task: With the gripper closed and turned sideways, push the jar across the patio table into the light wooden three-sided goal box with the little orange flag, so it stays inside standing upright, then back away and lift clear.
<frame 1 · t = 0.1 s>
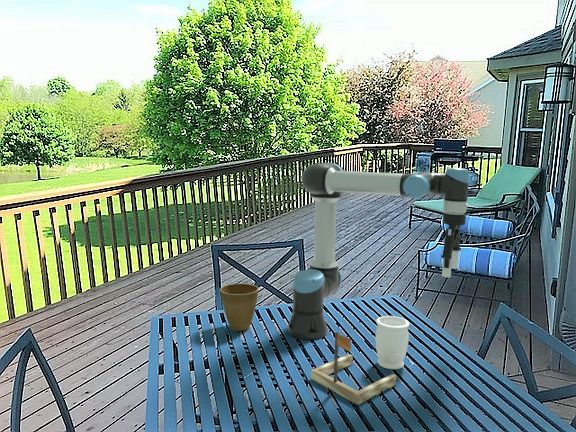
hand: (449, 272, 166), 28 cm above the table, tool pointing down, fingers open, 13 cm apart
jar: (390, 364, 157), on the table
plant pot: (239, 327, 186), on the table
goal box: (354, 381, 145), on the table
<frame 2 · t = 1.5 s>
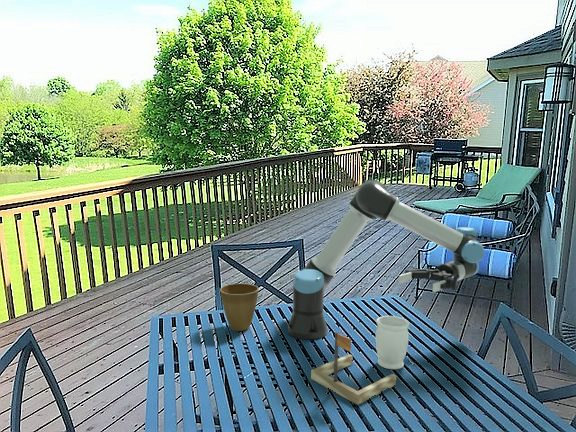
hand: (416, 283, 161), 25 cm above the table, tool horizontal, fingers open, 13 cm apart
nothing on the table moved.
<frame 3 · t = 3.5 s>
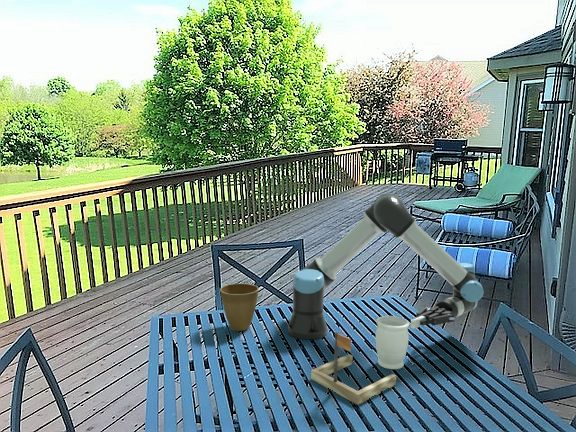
hand: (412, 324, 161), 11 cm above the table, tool horizontal, fingers closed
nothing on the table moved.
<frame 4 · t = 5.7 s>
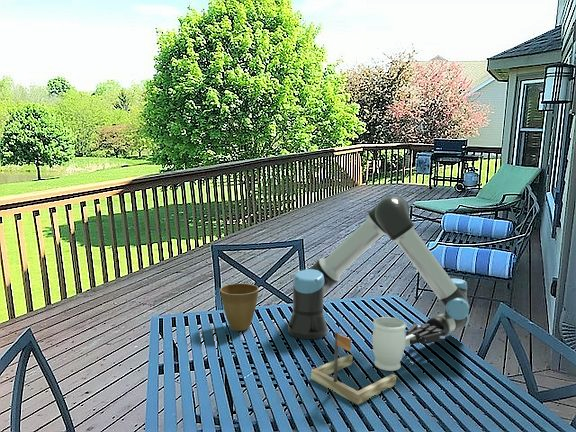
hand: (402, 343, 157), 7 cm above the table, tool horizontal, fingers closed
jar: (387, 366, 155), on the table, touching gripper
everything else where it was.
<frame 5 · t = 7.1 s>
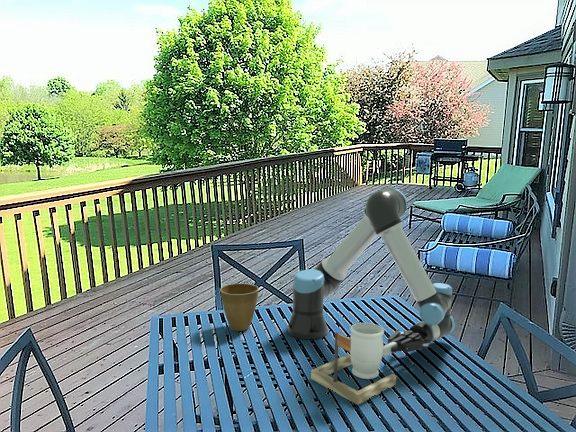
hand: (382, 351, 150), 7 cm above the table, tool horizontal, fingers closed
jar: (365, 373, 150), on the table, touching gripper
everything else where it was.
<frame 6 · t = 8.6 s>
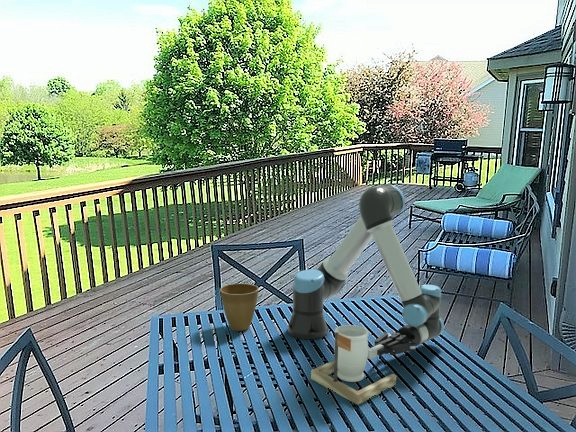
hand: (368, 354, 148), 7 cm above the table, tool horizontal, fingers closed
jar: (350, 376, 148), on the table, touching gripper
everything else where it was.
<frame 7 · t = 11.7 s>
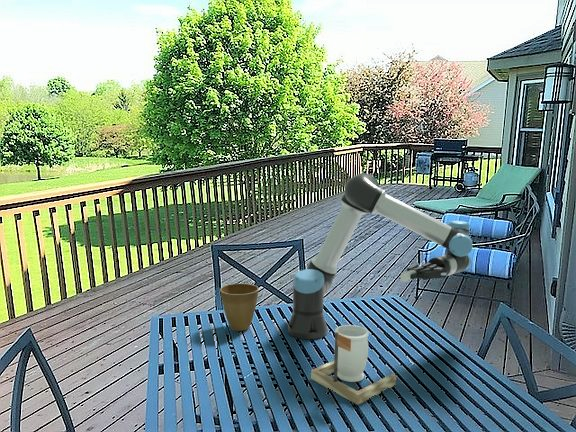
hand: (402, 277, 155), 29 cm above the table, tool horizontal, fingers closed
jar: (350, 376, 148), on the table
everything else where it was.
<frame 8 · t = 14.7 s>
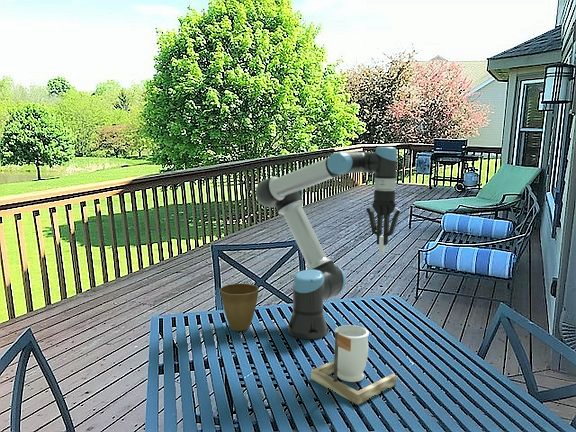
hand: (381, 253, 174), 32 cm above the table, tool pointing down, fingers closed
nothing on the table moved.
at the end: jar inside the target area on the goal box (3.3 cm from its centre), point 0.0 cm above the goal box's base; jar tilted 0° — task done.
